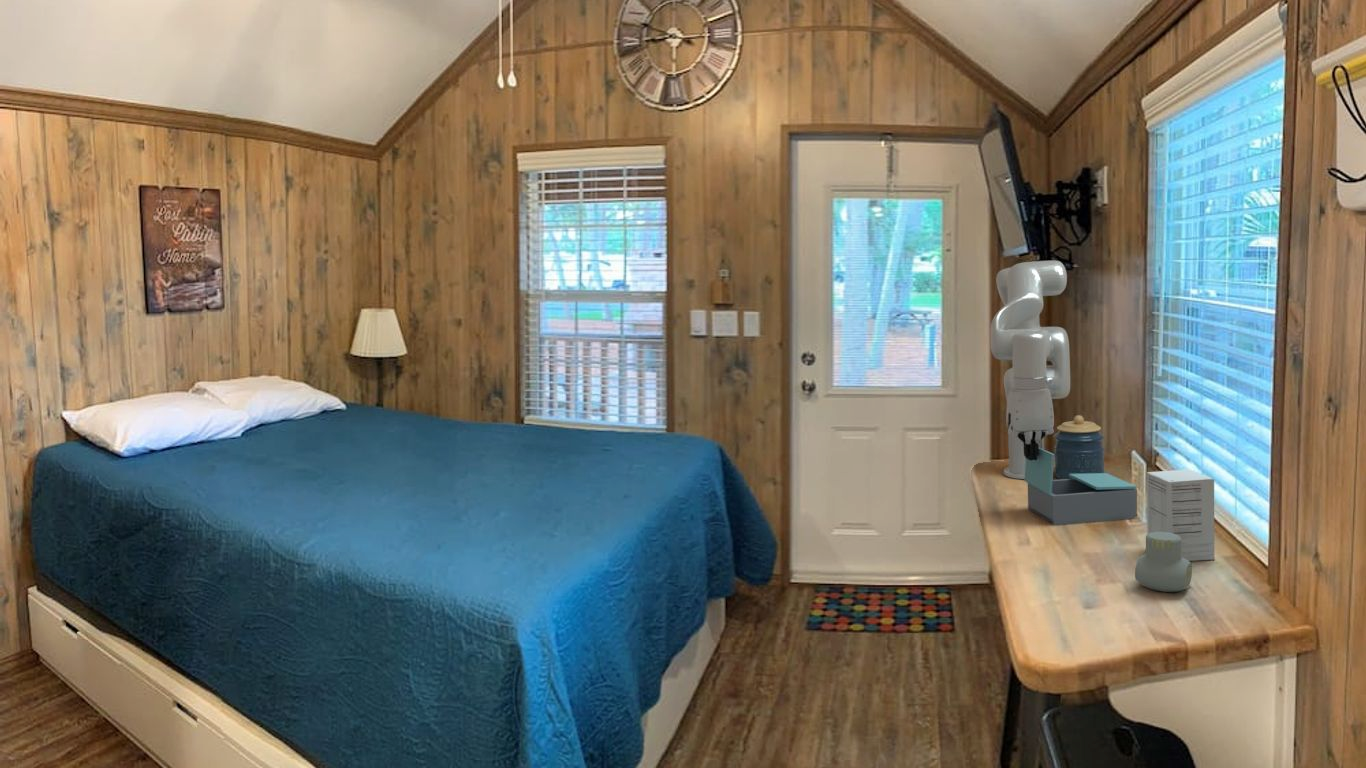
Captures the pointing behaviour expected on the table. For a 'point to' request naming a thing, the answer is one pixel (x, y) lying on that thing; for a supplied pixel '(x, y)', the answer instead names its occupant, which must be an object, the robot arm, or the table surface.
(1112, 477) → the flap
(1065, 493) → the box
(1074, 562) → the table surface
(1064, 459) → the canister
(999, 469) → the table surface
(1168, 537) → the air freshener
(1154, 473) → the supplement box
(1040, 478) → the flap
